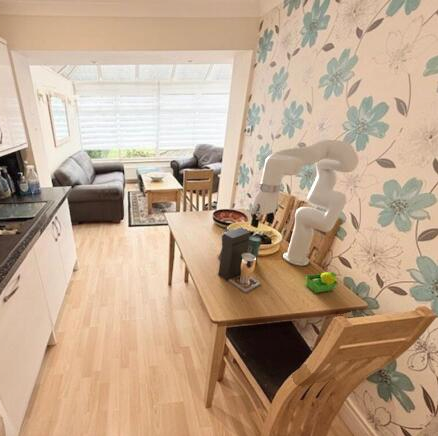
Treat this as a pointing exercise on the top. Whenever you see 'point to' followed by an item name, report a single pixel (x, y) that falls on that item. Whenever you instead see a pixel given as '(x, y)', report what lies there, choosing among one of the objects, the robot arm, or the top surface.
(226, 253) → the coffee maker
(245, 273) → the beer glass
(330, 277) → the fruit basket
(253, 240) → the can
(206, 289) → the top surface
